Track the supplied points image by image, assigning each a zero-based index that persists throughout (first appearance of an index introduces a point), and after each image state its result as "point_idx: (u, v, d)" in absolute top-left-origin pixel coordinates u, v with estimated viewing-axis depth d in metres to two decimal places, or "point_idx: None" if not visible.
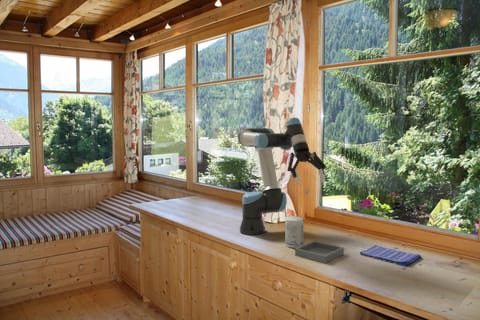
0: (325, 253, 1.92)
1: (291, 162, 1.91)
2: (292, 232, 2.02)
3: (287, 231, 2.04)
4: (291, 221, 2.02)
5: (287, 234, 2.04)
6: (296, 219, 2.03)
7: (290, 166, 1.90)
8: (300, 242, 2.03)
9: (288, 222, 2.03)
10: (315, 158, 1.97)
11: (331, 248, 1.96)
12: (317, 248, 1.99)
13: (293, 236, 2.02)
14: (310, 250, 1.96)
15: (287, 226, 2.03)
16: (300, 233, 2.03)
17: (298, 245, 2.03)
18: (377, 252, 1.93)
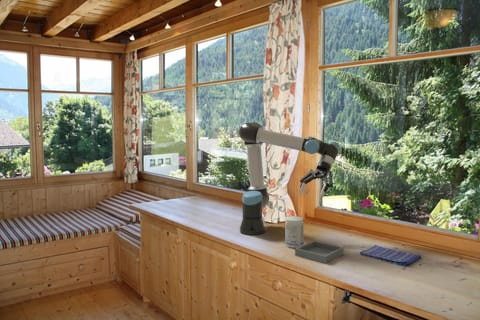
0: (325, 253, 1.92)
1: None
2: (292, 232, 2.02)
3: (287, 231, 2.04)
4: (291, 221, 2.02)
5: (287, 234, 2.04)
6: (296, 219, 2.03)
7: None
8: (300, 242, 2.03)
9: (288, 222, 2.03)
10: (310, 175, 2.25)
11: (331, 248, 1.96)
12: (317, 248, 1.99)
13: (293, 236, 2.02)
14: (310, 250, 1.96)
15: (287, 226, 2.03)
16: (300, 233, 2.03)
17: (298, 245, 2.03)
18: (377, 252, 1.93)
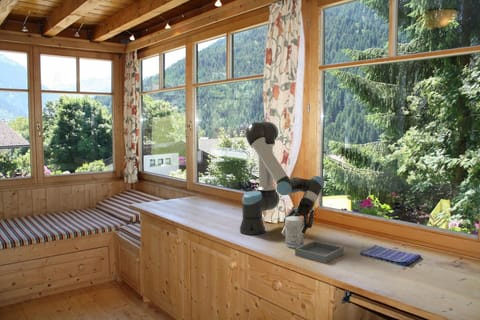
0: (325, 253, 1.92)
1: None
2: (292, 232, 2.02)
3: (287, 231, 2.04)
4: (291, 221, 2.02)
5: (287, 234, 2.04)
6: (296, 219, 2.03)
7: None
8: (300, 242, 2.03)
9: (288, 222, 2.03)
10: (293, 212, 2.14)
11: (331, 248, 1.96)
12: (317, 248, 1.99)
13: (293, 236, 2.02)
14: (310, 250, 1.96)
15: (287, 226, 2.03)
16: None
17: (298, 245, 2.03)
18: (377, 252, 1.93)
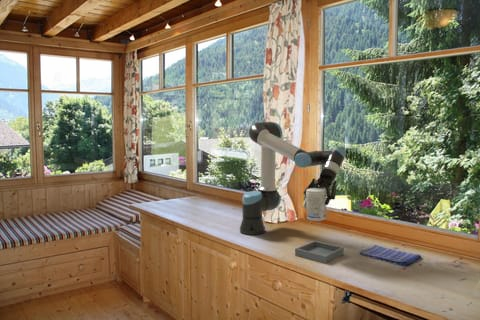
0: (325, 253, 1.92)
1: None
2: (315, 204, 1.88)
3: (309, 203, 1.90)
4: (313, 192, 1.88)
5: (309, 206, 1.90)
6: (318, 190, 1.90)
7: None
8: (323, 214, 1.89)
9: (310, 193, 1.89)
10: (313, 185, 2.01)
11: (331, 248, 1.96)
12: (317, 248, 1.99)
13: (315, 208, 1.88)
14: (310, 250, 1.96)
15: (308, 198, 1.90)
16: None
17: (321, 218, 1.89)
18: (377, 252, 1.93)
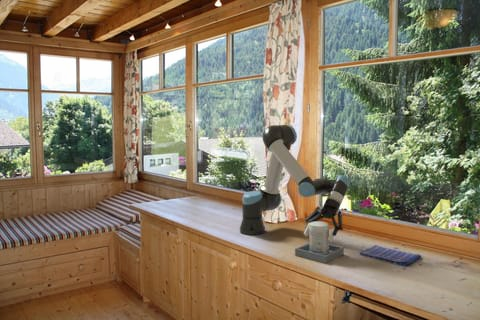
0: None
1: None
2: (318, 238, 1.87)
3: (312, 238, 1.89)
4: (316, 227, 1.87)
5: (312, 241, 1.90)
6: (321, 224, 1.89)
7: None
8: (326, 249, 1.89)
9: (313, 228, 1.88)
10: (316, 213, 2.00)
11: (331, 248, 1.96)
12: None
13: (318, 243, 1.88)
14: None
15: (312, 232, 1.89)
16: (326, 240, 1.88)
17: (324, 252, 1.88)
18: (377, 252, 1.93)
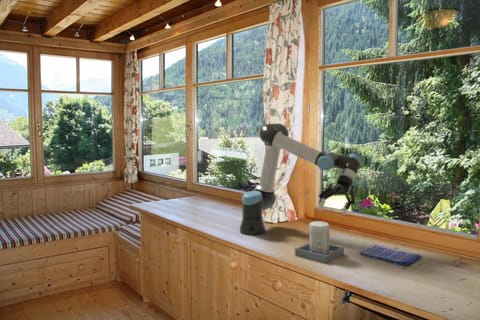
0: None
1: None
2: (318, 239, 1.87)
3: (312, 238, 1.89)
4: (316, 227, 1.87)
5: (312, 241, 1.90)
6: (321, 225, 1.89)
7: None
8: (326, 249, 1.89)
9: (313, 228, 1.88)
10: (329, 190, 2.09)
11: (331, 248, 1.96)
12: None
13: (318, 243, 1.88)
14: None
15: (312, 232, 1.89)
16: (326, 240, 1.88)
17: (324, 253, 1.88)
18: (377, 252, 1.93)
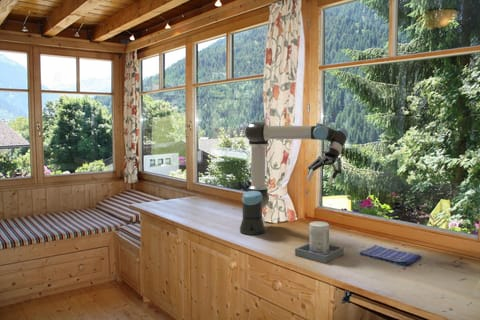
0: None
1: None
2: (318, 239, 1.87)
3: (312, 238, 1.89)
4: (316, 227, 1.87)
5: (312, 241, 1.90)
6: (321, 225, 1.89)
7: None
8: (326, 249, 1.89)
9: (313, 228, 1.88)
10: (318, 162, 2.23)
11: (331, 248, 1.96)
12: None
13: (318, 243, 1.88)
14: None
15: (312, 232, 1.89)
16: (326, 240, 1.88)
17: (324, 253, 1.88)
18: (377, 252, 1.93)
